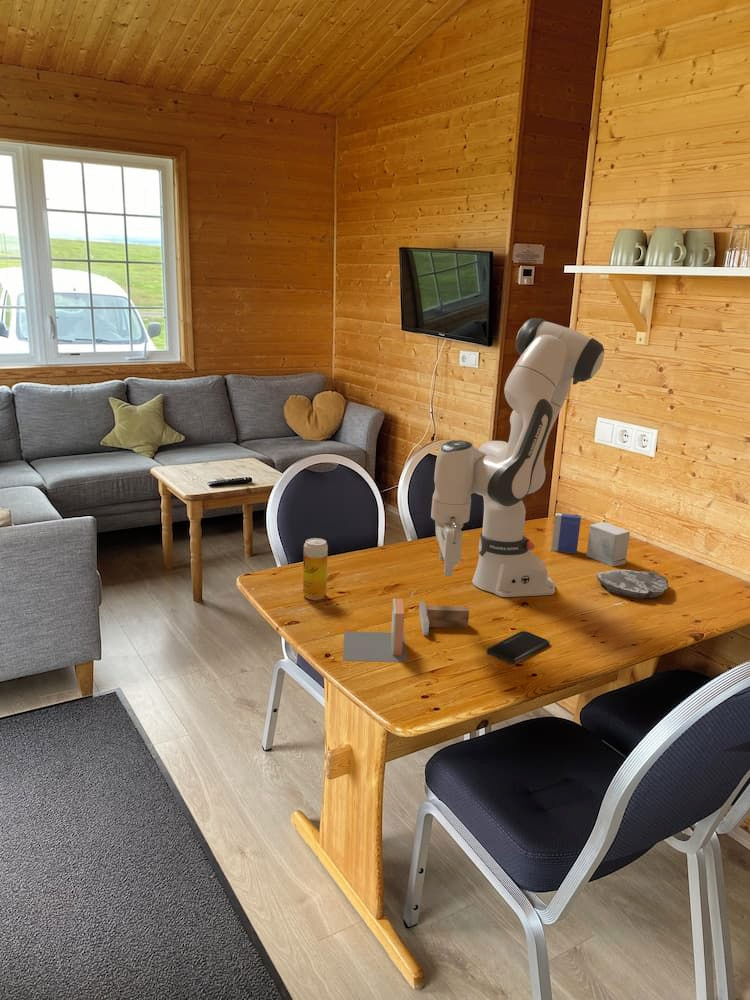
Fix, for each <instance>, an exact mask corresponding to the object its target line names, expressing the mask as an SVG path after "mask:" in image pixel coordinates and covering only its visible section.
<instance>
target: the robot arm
mask: <svg viewBox="0 0 750 1000" xmlns="http://www.w3.org/2000/svg"><path fill="white" fill-rule="evenodd" d="M515 349H516V352H517V354H518V355H519V356H520V357H519V358H518V359H517V361H516V363H515V365H514V366H513V368H512V370H511V371H510V373H509V375H508V377H507V379H506V380H505V381H506V382H505V384H504V389H503V390H504V392H503V393H504V396H505V401H506V402H507V404H508V405H509V407H510V408H511V409H512V412H511V413H510V416H509V423H510V432H509V437H508V442H507V441H504V440H488V441H486V442H484V443H483V444H481V445H480V447H478V449H477V448H476V447H475V446H474V445H473V443H471V442H469V441H467V440H462V439H461V440H460V439H459V440H458V439H457V440H450V441H447V442H445V443H443V444H442V445H441V446H440V447H439V450H438V451H437V454H436V455H437V456H436V461H435V467H434V475H433V481H434V492H433V494H432V500H431V501H432V502H431V510H430V511H431V512H430V514H431V515H430V518H431V519H432V520H433V521H434V527H435V537H436V539H437V542H438V546H439V560H440V562H444V568H443V574H444V576H445V577H452V576H453V572H454V568H455V564H460V562H461V559H462V551H463V550H462V548H463V532H462V531H463V530H462V528H463V527H464V524H466V523H469V521H470V516H471V505H472V504H471V503H472V496H471V495H472V494H477V495H479V496H482V497H483V519H482V520H483V521H482V531H481V532H480V537H479V542H478V553H479V555H478V561H477V563H476V565H477V566H476V568H475V572H474V575H473V576H472V579H471V582H472V584H473V585H474V586H475V587H476V588H478V589H480V590H482V591H486V592H488V593H492V594H494V595H496V596H499V597H501V598H512V597H513V598H515V597H516V598H517V597H534V596H535V597H536V596H551V595H554V594H555V593H556V586H555V582H554V581H553V580H552V578H550V577H549V576H548V569H547V566H546V564H545V563H544V562H543V561H542V559H541V558H539V557H538V556H537V555H535V554H534V552H532V551H533V550H534V549H535V548H536V547H535V544H534V543H533V542H532V541H531V540H530V539H529V538H528V537H527V536H526V535H524V533H525V532H524V531H525V524H526V523H525V521H526V513H527V511H526V506H525V504H524V502H523V500H524V499H525V498H526V497H527V495H529V494H534V493H536V492H537V491H539V490H540V488H542V486H543V485H544V482H545V480H546V473H547V472H546V467H545V462H544V461H545V452H546V447H547V442H548V440H549V435H550V433H551V431H552V429H553V427H554V424H555V422H556V420H557V418H558V416H559V414H560V412H561V410H562V408H563V406H564V403H565V401H566V398H567V396H568V393H569V391H570V387H571V385H577V384H578V383H581V382H582V383H583V382H586V381H588V380H590V379H592V378H593V377H594V376H595V375H596V374H597V373H598V372H599V370H600V369H601V367H602V366H603V362H604V356H605V354H604V353H605V348H604V345H603V344H602V343H601V342H600V341H598V340H597V339H595V338H593V337H592V338H591V337H589V336H587V335H586V334H584V333H583V332H582V333H581V332H579V331H578V330H575V329H573V328H571V327H566V326H563V325H560V324H557V323H554V322H550V321H546V320H545V319H544V318H538V317H537V318H536V317H532V318H529V319H528V320H526V321H525V322H524V323H523V325H522V326H521V327H520V329H519V330H518V332H517V335H516V339H515Z"/></svg>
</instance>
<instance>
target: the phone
mask: <svg viewBox="0 0 750 1000" xmlns="http://www.w3.org/2000/svg"><path fill="white" fill-rule="evenodd" d="M547 647H550V640H549V639H546V638H543V637H541V636H539V635H536V634H534V633H533V632H529V631H526V630H522V631H521V630H520V631H519V632H517V633H515V634H513V635H511V636H510V637H507V638H504V639H503V640H501V641H499V642H497V643H495V644H493V645H491V646H489V647H487V650H486V653H487V654H488V655H489V656H492V657H494V658H497V659H500V660H501V661H504V662H506V663H507V664H510V665H516V664H518V663H520V662H522V661H524V660H525V659H527V658H529V657H531V656H533V655H535V654H537V653H539V652H540V651H542V650H544V649H546V648H547Z"/></svg>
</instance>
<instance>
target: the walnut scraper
mask: <svg viewBox="0 0 750 1000" xmlns="http://www.w3.org/2000/svg"><path fill="white" fill-rule="evenodd" d="M418 609H419V612H418V614H419V620H420V625H421V626H420V627H421V631H422V636H423V637H428V636H429V629H430V628H451V629H452V628H453V629H454V628H457V629H461V628H462V629H468V628H469V615H470V610H469V606H460V605H459V606H454V605H426V602H425V600H420V601H419V608H418Z"/></svg>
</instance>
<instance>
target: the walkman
mask: <svg viewBox="0 0 750 1000" xmlns="http://www.w3.org/2000/svg"><path fill="white" fill-rule="evenodd" d="M553 520H554V521H553V530H552V539H551V546H550V547H551V549H550V551H553V552H560V553H567V554H569V553H570V554H577V553H578V546H579V545H578V544H579V536H580V528H581V521H582V516H581V515H578V514H577V513H573V514H570V513H569V514H568V513H560V512H556V513H555V514H554V519H553Z"/></svg>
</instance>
